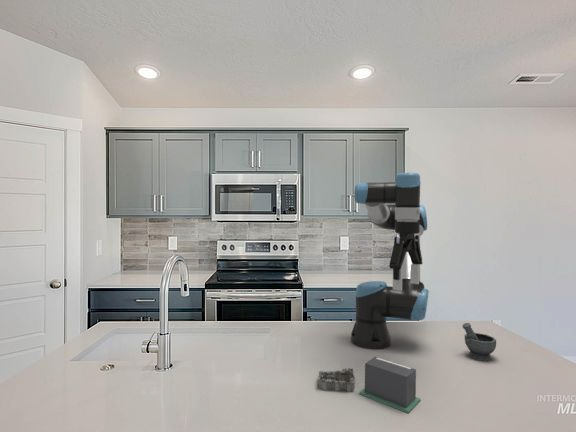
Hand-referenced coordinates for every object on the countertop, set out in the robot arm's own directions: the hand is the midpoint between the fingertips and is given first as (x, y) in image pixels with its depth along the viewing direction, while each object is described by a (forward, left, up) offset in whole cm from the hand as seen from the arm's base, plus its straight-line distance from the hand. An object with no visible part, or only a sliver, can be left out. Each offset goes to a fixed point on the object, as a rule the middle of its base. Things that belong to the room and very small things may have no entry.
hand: (406, 286), depth 113 cm
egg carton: (-10, -24, -27) cm, 38 cm away
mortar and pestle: (+15, +27, -27) cm, 41 cm away
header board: (+4, -20, -27) cm, 34 cm away
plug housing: (+4, -20, -26) cm, 33 cm away
